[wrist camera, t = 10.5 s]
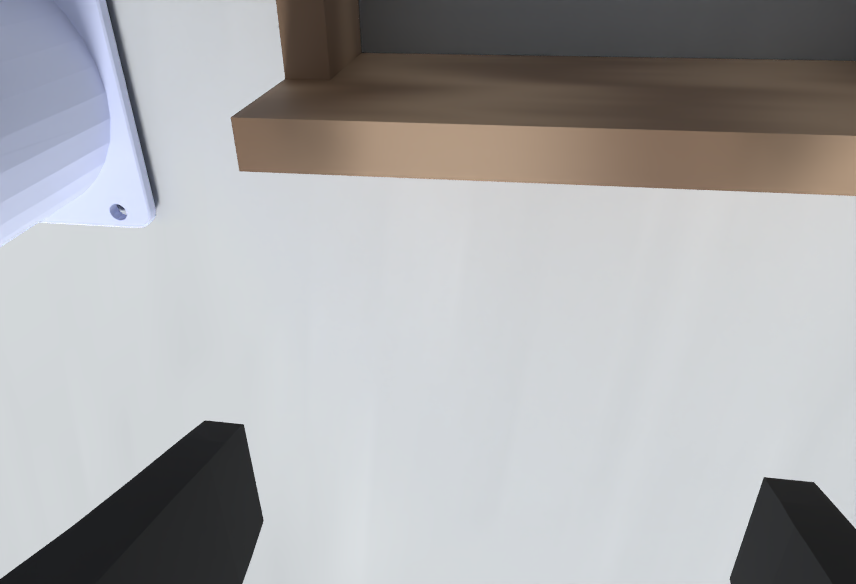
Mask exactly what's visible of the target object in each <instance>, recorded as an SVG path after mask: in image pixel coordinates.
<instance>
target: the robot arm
mask: <svg viewBox="0 0 856 584" xmlns="http://www.w3.org/2000/svg"><path fill="white" fill-rule="evenodd" d="M117 204H118V205H121V206H122V207H123V208H124V209H125V210H126V212H127V215H125V214H123V213H121V212H120V211H119V209H118V207H117ZM155 216H156V208H155V204H154V200H153V195H152V191H151V187H150V183H149V179H148V175H147V170H146V166H145V162H144V158H143V154H142V150H141V145H140V141H139V137H138V133H137V129H136V125H135V121H134V116H133V112H132V108H131V104H130V100H129V96H128V91H127V87H126V83H125V79H124V75H123V71H122V66H121V62H120V58H119V54H118V50H117V46H116V41H115V37H114V33H113V29H112V25H111V21H110V16H109V12H108V8H107V4H106V0H0V247H1V246H3V245H4V244H6V243H8V242H9V241H11V240H12V239H14V238H15V237H17V236H18V235H20V234H22V233H23V232H25V231H26V230H28V229H29V228H31V227H32V226H34V225H36V224H37V223H57V224H76V225H95V226H114V227H133V228H141V227H145V226H147V225H148V224H149V223H150V222H152V221H153V220H154V218H155ZM262 524H263V516H262V511H261V506H260V501H259V496H258V492H257V487H256V482H255V477H254V472H253V467H252V462H251V458H250V453H249V448H248V443H247V438H246V433H245V428H244V424H234V423H224V422H214V421H204V422H202V423H201V424H200V425H199V426H197V427H196V428H195V429H193V430H192V431H191V432H190V433H188V434H187V435H186V436H185V437H183V438H182V439H181V440H180V441H178V442H177V443H176V444H175V445H173V446H172V447H171V448H170V449H168V450H167V451H166V452H165V453H164V454H162V455H161V456H160V457H159V458H157V459H156V460H155V461H154V462H152V463H151V464H150V465H149V466H148V467H146V468H145V469H144V470H143V471H141V472H140V473H139V474H138V475H136V476H135V477H134V478H133V479H132V480H130V481H129V482H128V483H127V484H125V485H124V486H123V487H121V488H120V489H119V490H118V491H116V492H115V493H114V494H113V495H111V496H110V497H109V498H108V499H106V500H105V501H104V502H103V503H101V504H100V505H99V506H97V507H96V508H95V509H94V510H92V511H91V512H90V513H89V514H87V515H86V516H85V517H84V518H82V519H81V520H80V521H78V522H77V523H76V524H75V525H73V526H72V527H71V528H69V529H68V530H67V531H65V532H64V533H63V534H61V535H60V536H58V537H57V538H56V539H54V540H53V541H52V542H50V543H49V544H48V545H46V546H45V547H43V548H42V549H41V550H39V551H38V552H37V553H35V554H34V555H33V556H31V557H30V558H28V559H27V560H26V561H24V562H23V563H22V564H20V565H19V566H18V567H16V568H15V569H13V570H12V571H11V572H9V573H8V574H7V575H5V576H4V577H3V578H1V579H0V584H242V583H243V580H244V577H245V574H246V572H247V569H248V566H249V563H250V560H251V558H252V555H253V552H254V548H255V545H256V542H257V539H258V536H259V533H260V530H261V527H262ZM730 582H731V584H856V529H855V528H854V527H853V525H852V524H851V523H850V522H849V521H848V520H847V519H846V518H845V516H844V515H843V514H842V513H841V512H840V511H839V510H838V508H837V507H836V506H835V505H834V504H833V503H832V502H831V501H830V499H829V498H828V497H827V496H826V495H825V494H824V493H823V492H822V491H821V490H820V488H819V487H818V486H817V485H816V484H815V483H814V482H805V481H795V480H785V479H776V478H766V477H764V479H763V482H762V485H761V488H760V491H759V494H758V497H757V499H756V502H755V505H754V508H753V511H752V514H751V517H750V520H749V523H748V526H747V529H746V532H745V535H744V538H743V541H742V544H741V547H740V550H739V553H738V556H737V559H736V562H735V565H734V568H733V570H732V573H731V576H730Z"/></svg>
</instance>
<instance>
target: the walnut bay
mask: <svg viewBox="0 0 856 584" xmlns="http://www.w3.org/2000/svg"><path fill="white" fill-rule="evenodd" d="M276 4H277V13H278V21H279V30H280V38H281V46H282V55H283V63H284V72H285V80H283V81H282V82H280V83H279V84H278V85H276V86H275V87H273V88H272V89H270V90H269V91H268V92H266V93H265V94H263V95H262V96H261V97H259V98H258V99H256V100H255V101H253V102H252V103H251V104H249V105H248V106H246V107H245V108H243V109H242V110H241V111H239V112H238V113H236V114H235V115H234V116H232V117H231V122H232V128H233V134H234V140H235V146H236V153H237V159H238V165H239V171H247V172H272V173H297V174H322V175H347V176H372V177H397V178H422V179H447V180H472V181H497V182H522V183H547V184H572V185H597V186H622V187H647V188H672V189H697V190H722V191H747V192H772V193H797V194H822V195H847V196H856V61H837V60H775V59H713V58H651V57H589V56H527V55H465V54H403V53H362V52H361V36H360V19H359V2H358V0H276Z"/></svg>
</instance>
